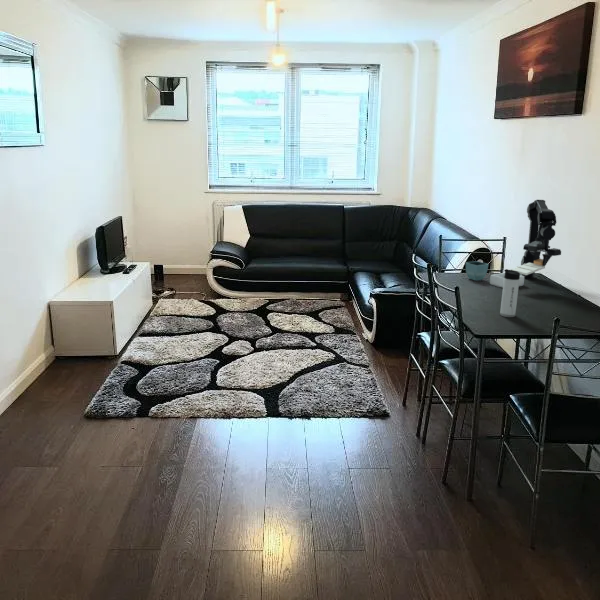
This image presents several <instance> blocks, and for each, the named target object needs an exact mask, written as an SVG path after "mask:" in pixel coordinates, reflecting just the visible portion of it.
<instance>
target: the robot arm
mask: <svg viewBox="0 0 600 600" xmlns="http://www.w3.org/2000/svg"><path fill="white" fill-rule="evenodd" d="M526 213H527V218H528V220H529V231H528V240H527V241H528V243H525V244H524V245H523V251H524V253H523V256H522V258H521V260H520V266H521V265H523V264H526V263H534V260H537V259H541V257H540V256H542V259H543V264H542V266H545V267H546V265H547V263H548V262H549V261H550V259H551V258H553V257H558V256H562V250H561V249H560V248H555V247H554V248H551V246H550V241H552V239H553V238H555V236H556V230H555V229H554V228H553V227H554V226H555V227H556V226H557V216H556V213H555V211H554V210H552V209H549V208H548V205H547V204H546V200H544V199H536V200H534V201H533V202H531V203H529V204H528V205H527V208H526ZM543 252H544V253H543ZM541 254H542V255H541ZM535 273H536V272H534V273H531V274H528V275H523V274H521V275H522V276H524V279H528V280H532V279H537V276H536V275H535Z"/></svg>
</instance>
